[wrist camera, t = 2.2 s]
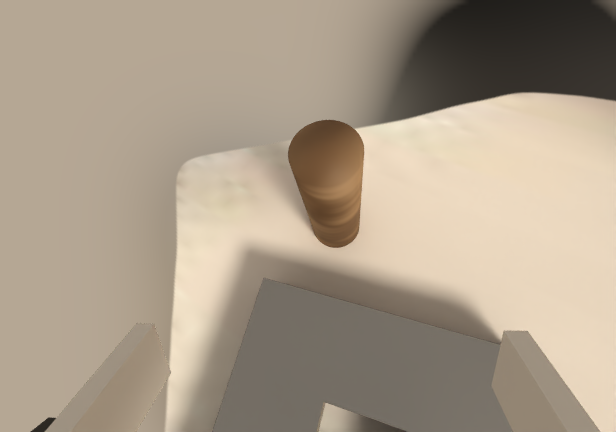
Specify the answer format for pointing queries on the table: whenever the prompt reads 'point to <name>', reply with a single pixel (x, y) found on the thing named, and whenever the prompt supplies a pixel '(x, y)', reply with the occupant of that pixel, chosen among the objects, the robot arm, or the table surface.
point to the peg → (329, 178)
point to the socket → (355, 369)
